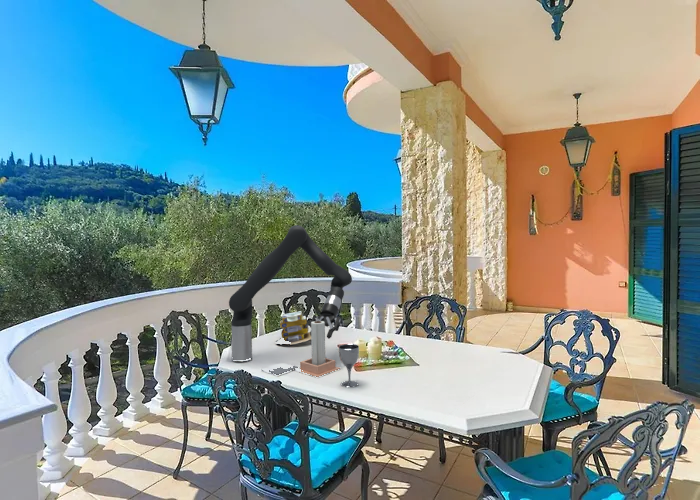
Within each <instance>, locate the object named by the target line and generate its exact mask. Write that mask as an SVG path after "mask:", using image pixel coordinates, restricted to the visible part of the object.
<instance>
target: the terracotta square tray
mask: <svg viewBox="0 0 700 500" xmlns="http://www.w3.org/2000/svg"><path fill="white" fill-rule="evenodd" d="M325 358H326V363H324V364H321V365H318V366H317V365H313V364H312V357H310V358H308V359H305V360H302V361H299V368H300V369H301V372H304V373H307V374H310V375H312V376H311V377H313V376H316V377H319V376H322V375H324V374H327V373H329V374H331V373H330V372H332V371H334V372H336V371H335V370H337V371H339V370H338V369H340V370H341V367H338V366H337V365H336V364H337V363H336V359H335V360H334V359H331V358H327V357H325ZM302 370H303V371H302ZM332 373H333V372H332ZM310 375H309V376H310ZM327 375H328V374H327ZM324 376H325V375H324ZM316 377H315V378H316ZM322 377H323V376H322ZM319 378H320V377H319Z"/></svg>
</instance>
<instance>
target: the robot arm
mask: <svg viewBox="0 0 700 500" xmlns="http://www.w3.org/2000/svg"><path fill="white" fill-rule="evenodd" d="M299 248H301V249H302V250H303V251H304V252H305V253H306V254H307V255H308V256H309V257H310V258H311V259H312V261H313V262H314V263H315V264H316V266H317V267H318V268H320V270H321V271H323V273H325V275H326V276H333V277H332V279H331V281H330V282H331V283H330V290H329V292H328V295H327V298H325V300H324V304H323V305H322V309H321V311H320V315H319V316H317V315H316V314H313V315H312V317H311V320H310V322H309V323H308V327H310V328H311V322H313V321H324V322H325V328H326V327H327V328H329V329H328V331H327V334H326V339H329V340H330V339H331V338H332V336H333V333H334V332H335V331H336V332H339V330H340V325H341V323H342V320H341V318H340V317H339V316H338V312H339V311H340V309H341V304H342V301H343V298H344V296H345V291H344V289H343V288H344V287H347V286H349V285H350V284H351V283H352V281H353V277H352V274H351V273H350V272H349V271H348V270H347V269H345V268H343V267H342V266H340V265H339V264H337V263H336V262H335V261H334V260H333V259H332V258H331V257H330V256H329V255H328V254H326V252H324V251H323V250H322V249H321V248H320V247H319V246H318V245H317V244H316V243H315V241H313V239H312V238H311V237H310V235H309V234H308V232H307V231H306V229H305V227H303V226H302V225H299V224H298V225H292V226H291V227H290V228H288V232H287V234H286V235H285V237H284V239H283V240H282V241H281V242H280V243H279V245H278V246H277V247H276V248H274V249H273V250H272V251H270V253H268V255H266V256H265V258H263V260H262V261H261V262H260V263H259V264H258V265H257V267H256V269H254V270H253V272H251V274H250V276H249V277H248V279H246V281H245V282H244V284H242V286H241V287H240V288H239V289H237V290H236V291H235V292H234V293H233V294H232V295H231V296H230V298H229V300H228V306H229V308H230V310H231V311H233V314H232V318H231V342H230V343H231V347H230V348H231V358H232V357H233V360H246V359H249V358H251V357H252V358H253V337H252V333H253V332H252V331H253V330H252V319H253V299H254V297H255V296H256V295H257V294H258V292H259V291H261V290H262V289H263V288H264V287H266V285H268V284H269V283H270V282H271V281H272V280H273V279H274V278H275V276H277V275H278V273H279V272H280V270H281V269H282V268H283V267H284V265H285V264H286V263H287V262H288V260H289V258H291V256H292V255H293V254H294V253H295V252H296V251H297V250H298V249H299ZM333 323H334V325H333ZM309 332H310V335H311V330H310V331H309ZM233 360H232V361H233Z"/></svg>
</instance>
